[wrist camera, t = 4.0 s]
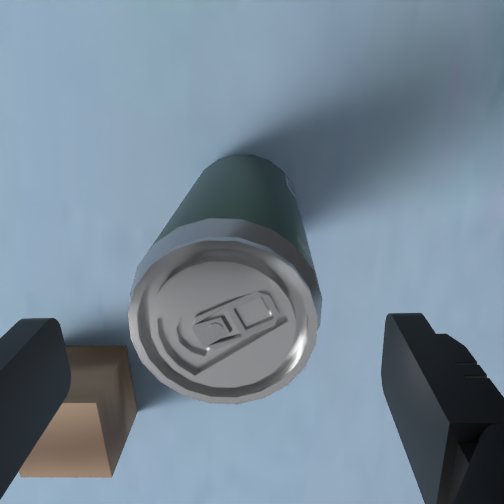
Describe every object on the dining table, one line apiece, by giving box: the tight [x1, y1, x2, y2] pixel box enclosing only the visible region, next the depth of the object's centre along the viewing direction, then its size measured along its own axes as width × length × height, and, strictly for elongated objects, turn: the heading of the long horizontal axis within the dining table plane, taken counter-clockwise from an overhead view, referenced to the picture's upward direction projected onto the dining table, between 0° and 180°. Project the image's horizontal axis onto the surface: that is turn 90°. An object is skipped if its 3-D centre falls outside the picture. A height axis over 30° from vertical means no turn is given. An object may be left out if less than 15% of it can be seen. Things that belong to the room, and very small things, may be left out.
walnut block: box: [19, 346, 138, 477], centre depth 24 cm, size 5×5×5 cm
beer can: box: [128, 154, 322, 404], centre depth 17 cm, size 5×5×12 cm
